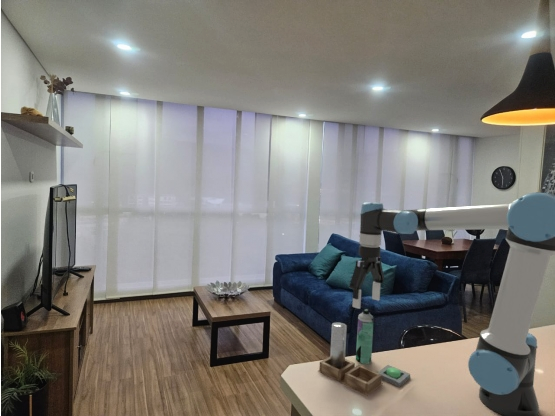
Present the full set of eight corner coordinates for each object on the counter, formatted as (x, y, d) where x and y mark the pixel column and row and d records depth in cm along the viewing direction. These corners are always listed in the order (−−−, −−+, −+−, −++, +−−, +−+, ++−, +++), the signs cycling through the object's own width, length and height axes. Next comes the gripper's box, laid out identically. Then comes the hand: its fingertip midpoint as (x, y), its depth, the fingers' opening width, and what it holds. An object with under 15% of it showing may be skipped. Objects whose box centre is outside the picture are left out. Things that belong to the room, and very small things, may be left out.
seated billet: (347, 371, 120) (349, 325, 119) (338, 376, 117) (341, 329, 116) (335, 365, 124) (337, 321, 123) (326, 370, 120) (328, 324, 119)
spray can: (369, 360, 131) (372, 307, 130) (372, 367, 126) (375, 312, 125) (354, 358, 132) (357, 306, 131) (356, 366, 126) (359, 311, 125)
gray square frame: (409, 381, 118) (410, 373, 118) (399, 390, 112) (399, 382, 112) (387, 371, 123) (387, 364, 123) (376, 380, 118) (376, 372, 118)
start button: (402, 379, 118) (402, 371, 118) (396, 384, 115) (396, 375, 114) (390, 374, 121) (390, 366, 121) (383, 379, 118) (384, 370, 118)
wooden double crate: (383, 386, 114) (383, 374, 114) (367, 399, 107) (367, 386, 106) (334, 364, 127) (334, 353, 127) (317, 374, 120) (317, 362, 120)
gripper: (377, 241, 138) (374, 294, 139) (341, 247, 120) (338, 308, 121) (395, 243, 133) (392, 299, 134) (360, 250, 115) (357, 314, 116)
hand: (366, 303), depth 128 cm, fingers open, 13 cm apart
